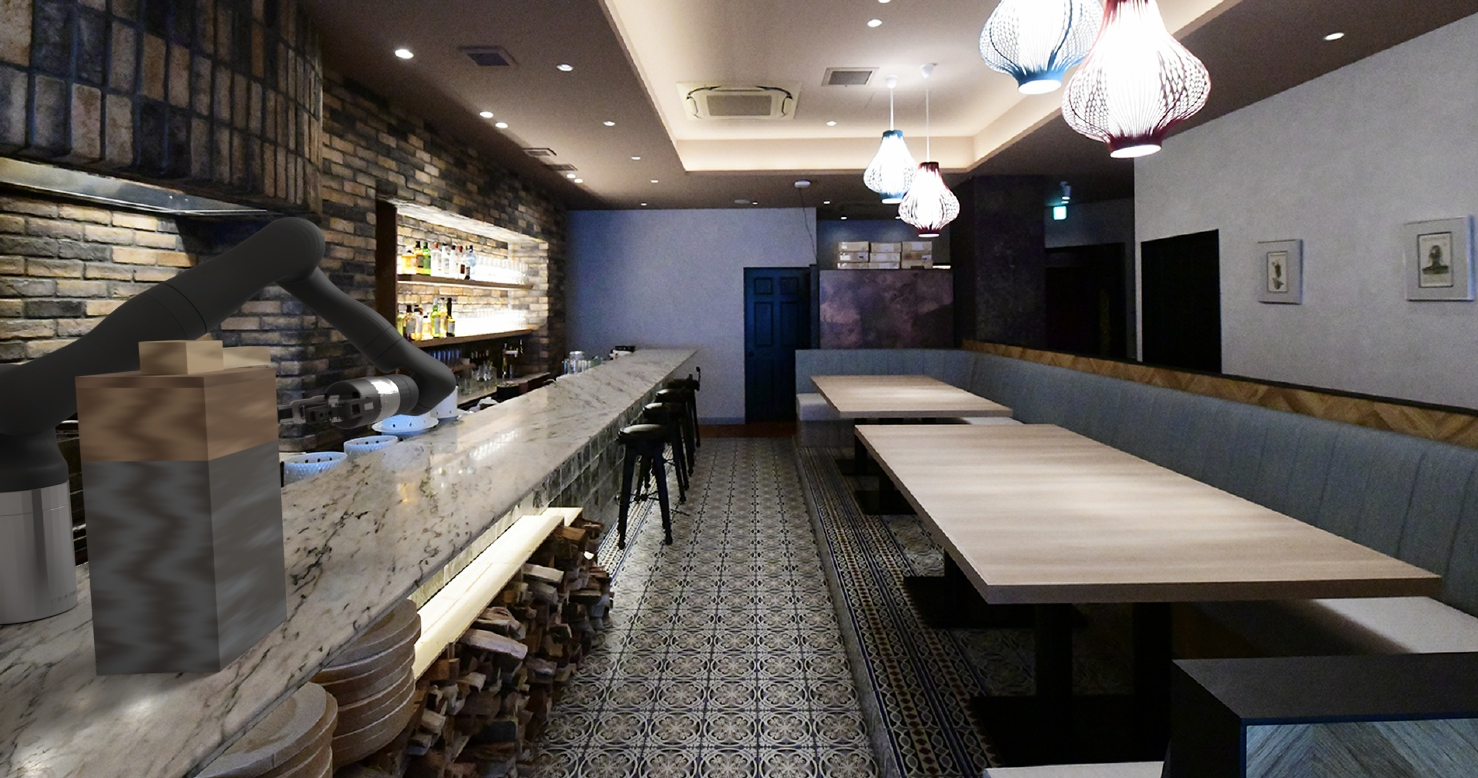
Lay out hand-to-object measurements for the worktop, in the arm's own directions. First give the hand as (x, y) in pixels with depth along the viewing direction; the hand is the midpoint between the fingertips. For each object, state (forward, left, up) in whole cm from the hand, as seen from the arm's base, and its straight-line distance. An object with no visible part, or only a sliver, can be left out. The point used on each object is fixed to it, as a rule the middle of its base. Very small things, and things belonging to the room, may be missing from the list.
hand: (281, 418), depth 106 cm
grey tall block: (-3, -16, -26) cm, 30 cm away
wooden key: (-3, -9, +8) cm, 12 cm away
